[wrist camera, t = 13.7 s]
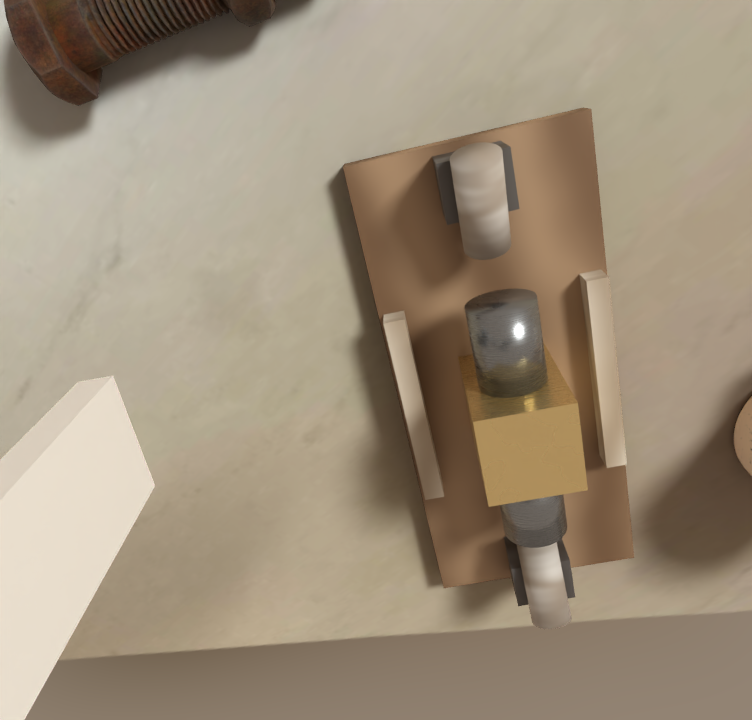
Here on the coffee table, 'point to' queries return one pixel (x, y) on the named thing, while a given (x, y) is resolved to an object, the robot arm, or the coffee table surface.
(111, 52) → the bolt
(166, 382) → the coffee table surface
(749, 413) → the teacup with lid
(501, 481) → the universal joint
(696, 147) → the coffee table surface
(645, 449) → the coffee table surface
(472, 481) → the coupling cradle
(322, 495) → the coffee table surface
